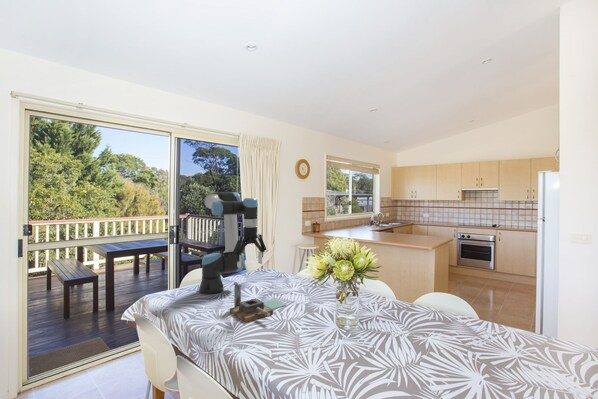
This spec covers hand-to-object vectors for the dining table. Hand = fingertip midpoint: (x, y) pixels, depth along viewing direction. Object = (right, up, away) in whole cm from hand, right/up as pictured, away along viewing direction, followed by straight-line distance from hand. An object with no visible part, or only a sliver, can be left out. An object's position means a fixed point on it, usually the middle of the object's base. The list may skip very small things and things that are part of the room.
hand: (250, 265), depth 162 cm
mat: (+12, -23, +5) cm, 26 cm away
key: (-7, -23, -1) cm, 24 cm away
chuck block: (+5, -23, -11) cm, 26 cm away
